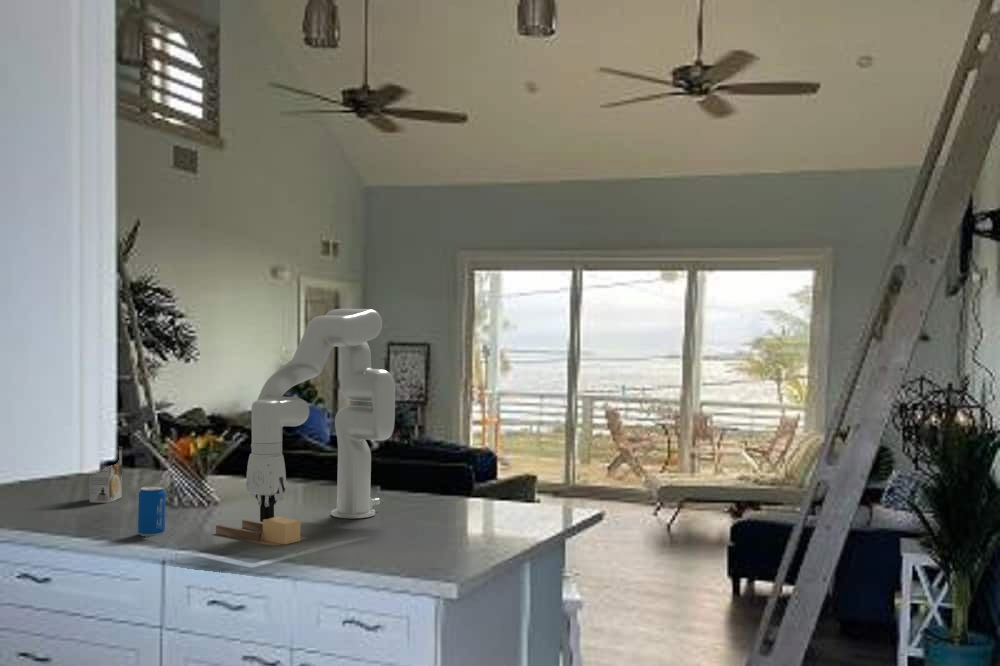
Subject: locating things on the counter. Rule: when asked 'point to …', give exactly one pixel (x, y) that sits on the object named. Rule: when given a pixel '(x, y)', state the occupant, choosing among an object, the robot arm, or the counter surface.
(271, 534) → the block
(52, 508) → the counter surface
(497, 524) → the counter surface
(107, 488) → the coffee box
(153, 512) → the beverage can
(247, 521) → the brown piece
